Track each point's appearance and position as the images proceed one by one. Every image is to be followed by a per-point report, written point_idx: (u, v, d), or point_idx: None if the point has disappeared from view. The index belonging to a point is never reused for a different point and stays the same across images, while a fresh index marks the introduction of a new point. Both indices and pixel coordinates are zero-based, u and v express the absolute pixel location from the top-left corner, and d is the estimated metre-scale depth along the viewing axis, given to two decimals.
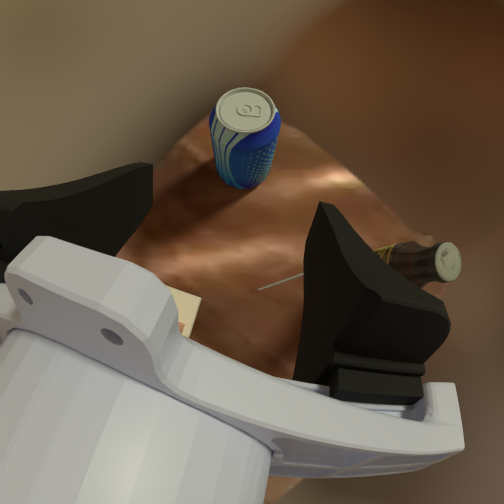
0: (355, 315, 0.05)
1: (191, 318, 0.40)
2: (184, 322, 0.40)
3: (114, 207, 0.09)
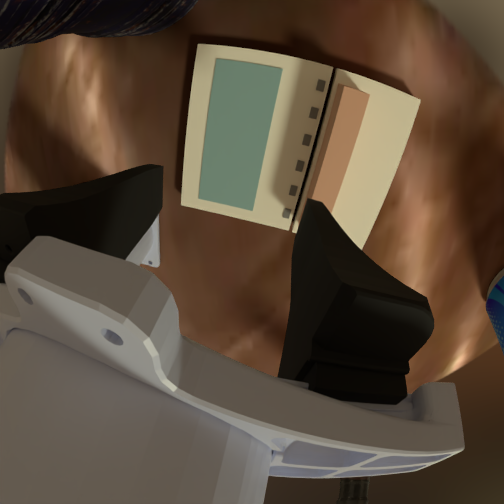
0: (331, 310, 0.05)
1: None
2: None
3: (125, 210, 0.09)
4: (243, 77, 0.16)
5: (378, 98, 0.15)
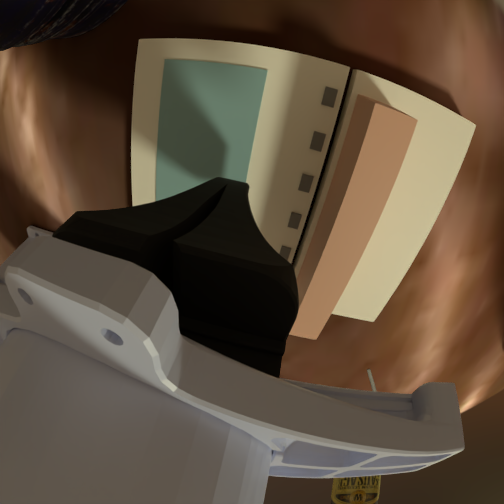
0: (174, 271, 0.05)
1: None
2: None
3: None
4: (205, 86, 0.10)
5: (418, 120, 0.09)
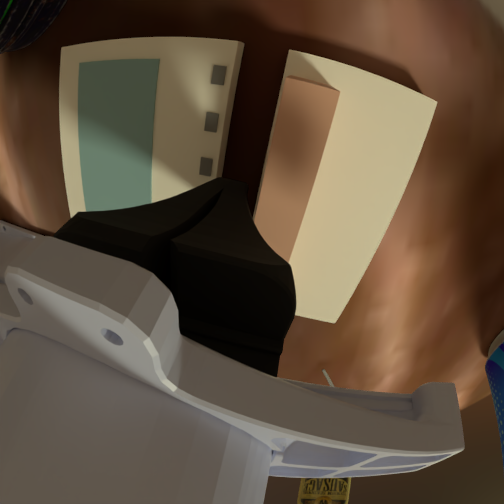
0: (171, 270, 0.05)
1: None
2: None
3: None
4: (110, 82, 0.10)
5: (363, 99, 0.09)
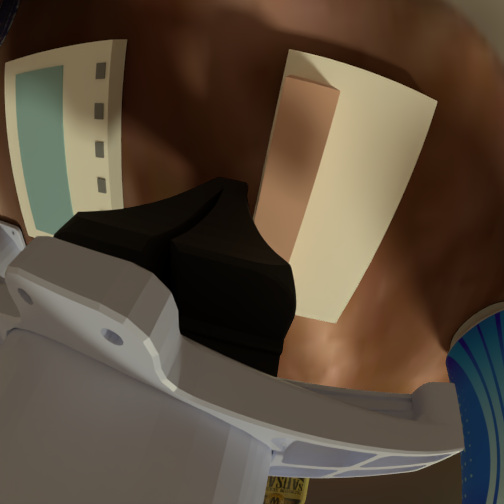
0: (172, 271, 0.05)
1: None
2: None
3: None
4: (35, 88, 0.10)
5: (363, 98, 0.09)
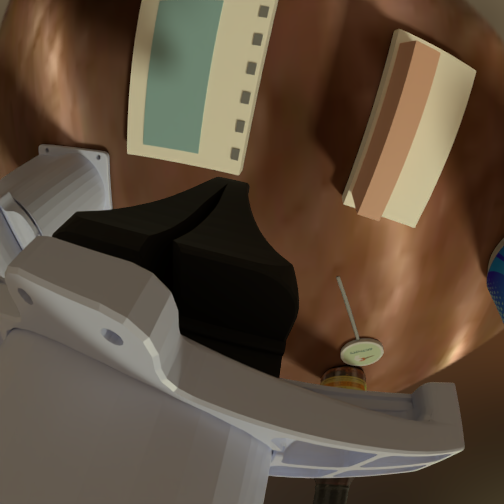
0: (174, 271, 0.05)
1: None
2: None
3: None
4: (184, 13, 0.13)
5: (438, 63, 0.12)
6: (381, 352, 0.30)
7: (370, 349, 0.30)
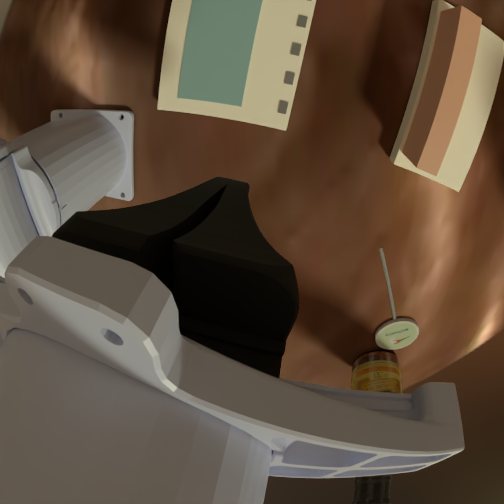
0: (174, 271, 0.05)
1: (428, 172, 0.17)
2: None
3: None
4: None
5: None
6: (416, 332, 0.27)
7: (406, 330, 0.27)
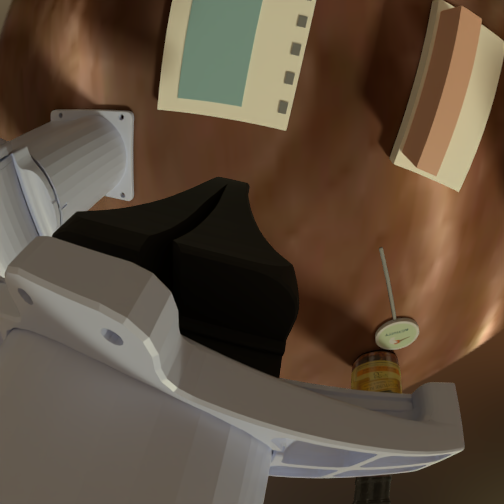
0: (174, 271, 0.05)
1: (428, 172, 0.17)
2: None
3: None
4: None
5: None
6: (416, 332, 0.27)
7: (406, 330, 0.27)
